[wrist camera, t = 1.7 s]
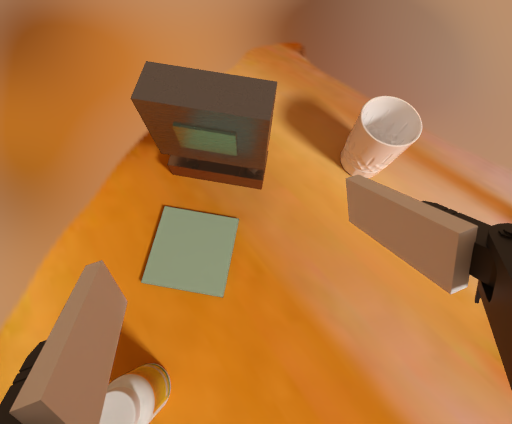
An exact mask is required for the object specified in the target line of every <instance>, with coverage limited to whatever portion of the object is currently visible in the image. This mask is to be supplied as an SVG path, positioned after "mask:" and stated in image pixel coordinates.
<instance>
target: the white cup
mask: <svg viewBox="0 0 512 424" xmlns="http://www.w3.org/2000/svg"><path fill="white" fill-rule="evenodd" d="M421 132H422V121H421V118H420V116H419V114H418V112H417V111H416V110H415V109H414V107H412V106H411V105H410V104H409V103H407V102H406V101H404V100H402V99H399V98H396V97H392V96H380V97H375V98H373V99H371V100H369V101H368V102H367V103H366V104H365V105H364V106H363V108H362V110H361V112H360V114H359V116H358V118H357V120H356V122H355V124H354V126H353V128H352V130H351V132H350V134H349V136H348V138H347V140H346V144H345V146H344V148H343V150H342V152H341V159H340V162H341V164H342V166H343V168H344V170H345V171H347V172H348V173H349V174H350V175H351V176H355V175H361V176H363V177H365V178H371V177H373V176H375V175H376V174H378V173H379V172H380V171H381V170H382V169H384V168H385V167H386V166H388V165H389V164H390V163H391V162H392V161H394V160H395V159H396V158H397V157H398V156H399V155H400V154H401V153H403V152H404V151H405V150H406V149H407V148H408V147H409V146H410V145H411V144H413V143H414V142H415V141H416V140H417V139H418V138H419V136H420V134H421Z"/></svg>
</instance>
